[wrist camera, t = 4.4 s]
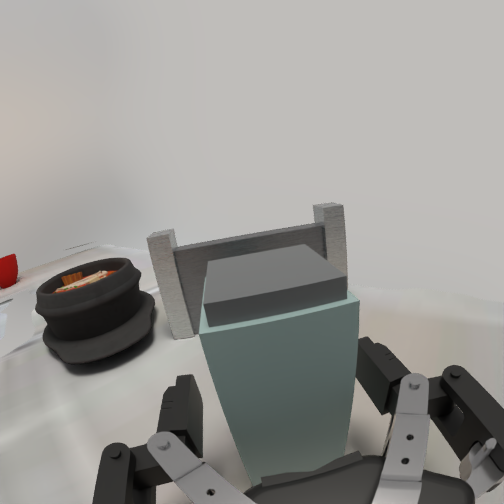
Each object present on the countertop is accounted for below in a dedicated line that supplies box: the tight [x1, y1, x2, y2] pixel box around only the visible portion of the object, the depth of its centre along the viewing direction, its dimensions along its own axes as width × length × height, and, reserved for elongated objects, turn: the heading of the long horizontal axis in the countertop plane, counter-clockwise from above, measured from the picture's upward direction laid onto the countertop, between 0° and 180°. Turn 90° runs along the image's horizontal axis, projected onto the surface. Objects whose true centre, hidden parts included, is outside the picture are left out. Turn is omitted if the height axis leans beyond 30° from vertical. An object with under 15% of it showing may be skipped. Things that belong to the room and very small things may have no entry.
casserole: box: [35, 258, 155, 364], centre depth 33 cm, size 25×19×8 cm
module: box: [199, 244, 360, 486], centre depth 12 cm, size 5×5×13 cm
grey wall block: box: [147, 203, 348, 339], centre depth 31 cm, size 21×6×12 cm, turn 97°
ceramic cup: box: [0, 254, 18, 288], centre depth 64 cm, size 13×17×10 cm
